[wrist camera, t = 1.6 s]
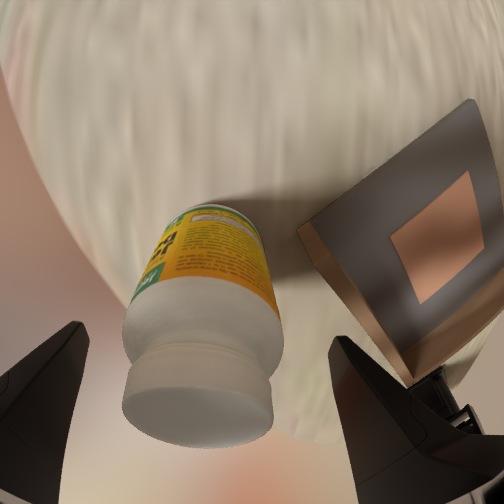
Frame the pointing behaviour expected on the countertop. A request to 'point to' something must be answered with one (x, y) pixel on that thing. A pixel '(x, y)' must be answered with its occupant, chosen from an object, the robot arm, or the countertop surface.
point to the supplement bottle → (203, 334)
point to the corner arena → (419, 246)
